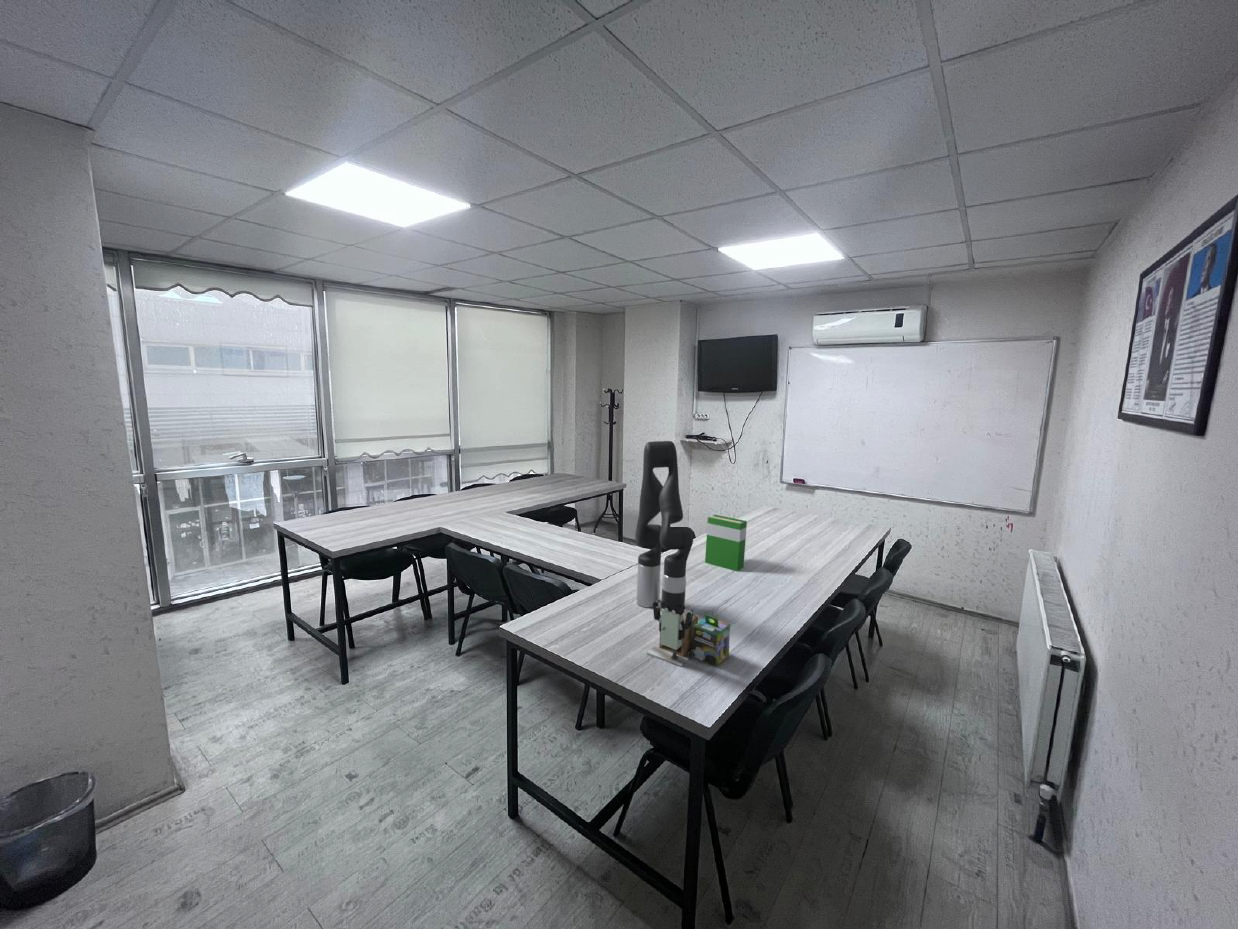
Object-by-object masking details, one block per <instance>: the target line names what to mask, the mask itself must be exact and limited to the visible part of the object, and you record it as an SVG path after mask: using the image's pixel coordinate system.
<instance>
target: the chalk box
mask: <svg viewBox="0 0 1238 929" xmlns="http://www.w3.org/2000/svg"><path fill="white" fill-rule="evenodd" d="M730 634H731V623H728V622H725V621H722V620H719V619H718V618H717V617H714V616H712V615H709V614H707V613H706V614H705V615H704V618H703V619H701V620H698V623H697V624H696V625H694V630H693V649H692V658H694V659H697V660H699V661H701V662H704V663H706V664H708V665H710V666H713V667H717V666H719V665H720V664H721V663H722V662H723V661H725V659H727V658H728V657H729V656H730V641H731V640H730V638H731V635H730Z"/></svg>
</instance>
